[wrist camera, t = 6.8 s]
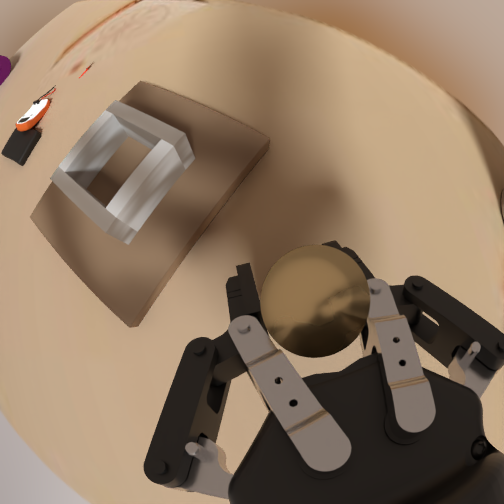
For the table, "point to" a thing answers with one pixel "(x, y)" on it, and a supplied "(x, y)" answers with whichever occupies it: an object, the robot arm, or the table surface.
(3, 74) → the mounting bracket
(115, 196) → the dock board
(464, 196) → the table surface
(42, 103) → the multimeter
